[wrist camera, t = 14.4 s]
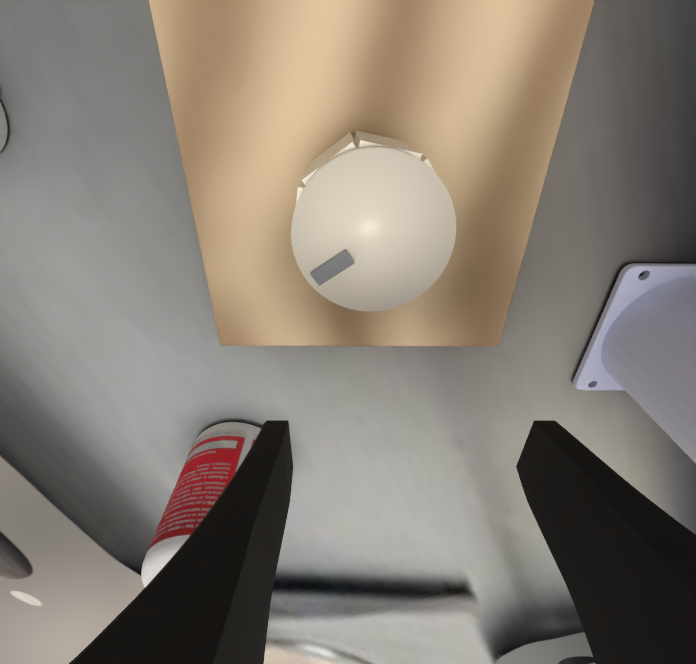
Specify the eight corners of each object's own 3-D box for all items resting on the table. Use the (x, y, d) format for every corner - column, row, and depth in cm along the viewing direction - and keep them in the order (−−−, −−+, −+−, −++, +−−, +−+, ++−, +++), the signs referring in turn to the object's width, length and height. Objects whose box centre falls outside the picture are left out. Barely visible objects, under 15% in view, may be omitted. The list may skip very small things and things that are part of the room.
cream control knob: (386, 104, 14) (406, 105, 10) (446, 218, 16) (485, 262, 12) (279, 185, 16) (254, 219, 11) (349, 279, 18) (351, 339, 13)
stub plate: (586, -25, 13) (604, -34, 12) (492, 336, 21) (498, 346, 20) (153, -34, 13) (139, -44, 12) (225, 335, 21) (220, 345, 20)
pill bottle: (185, 462, 26) (97, 663, 17) (209, 406, 23) (120, 609, 14) (267, 486, 28) (229, 682, 19) (299, 436, 25) (273, 637, 16)
